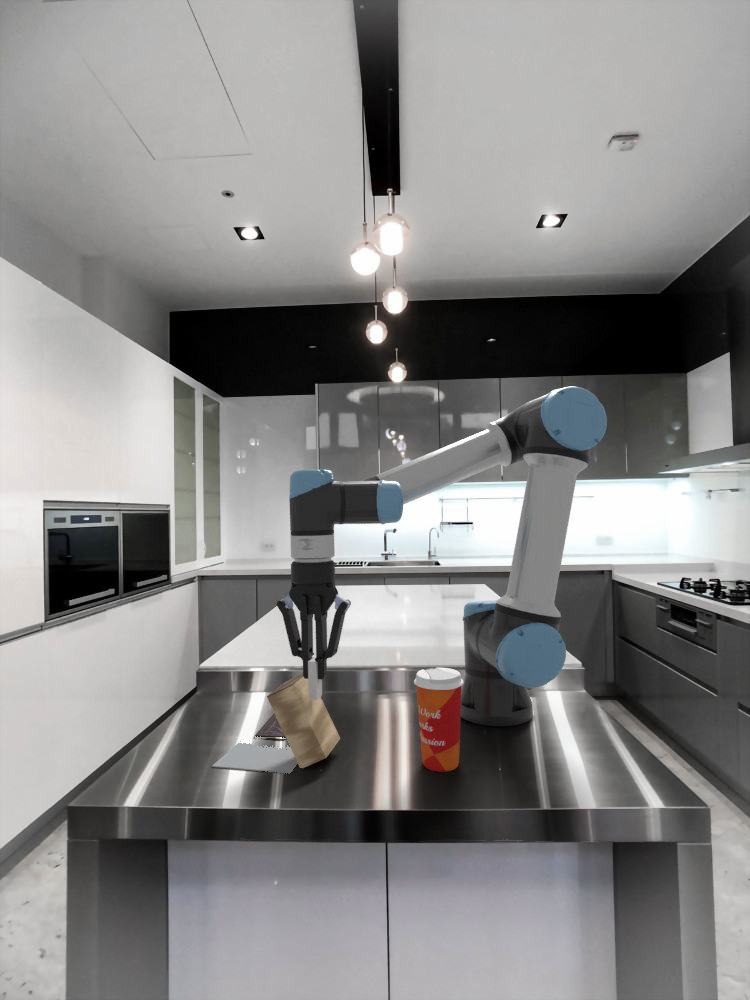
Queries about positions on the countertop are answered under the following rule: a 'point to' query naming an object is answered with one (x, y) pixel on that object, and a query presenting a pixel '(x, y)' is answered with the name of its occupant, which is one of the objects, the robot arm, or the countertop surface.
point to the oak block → (303, 721)
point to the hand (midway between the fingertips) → (315, 697)
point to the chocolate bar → (271, 728)
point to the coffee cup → (439, 717)
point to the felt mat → (258, 758)
